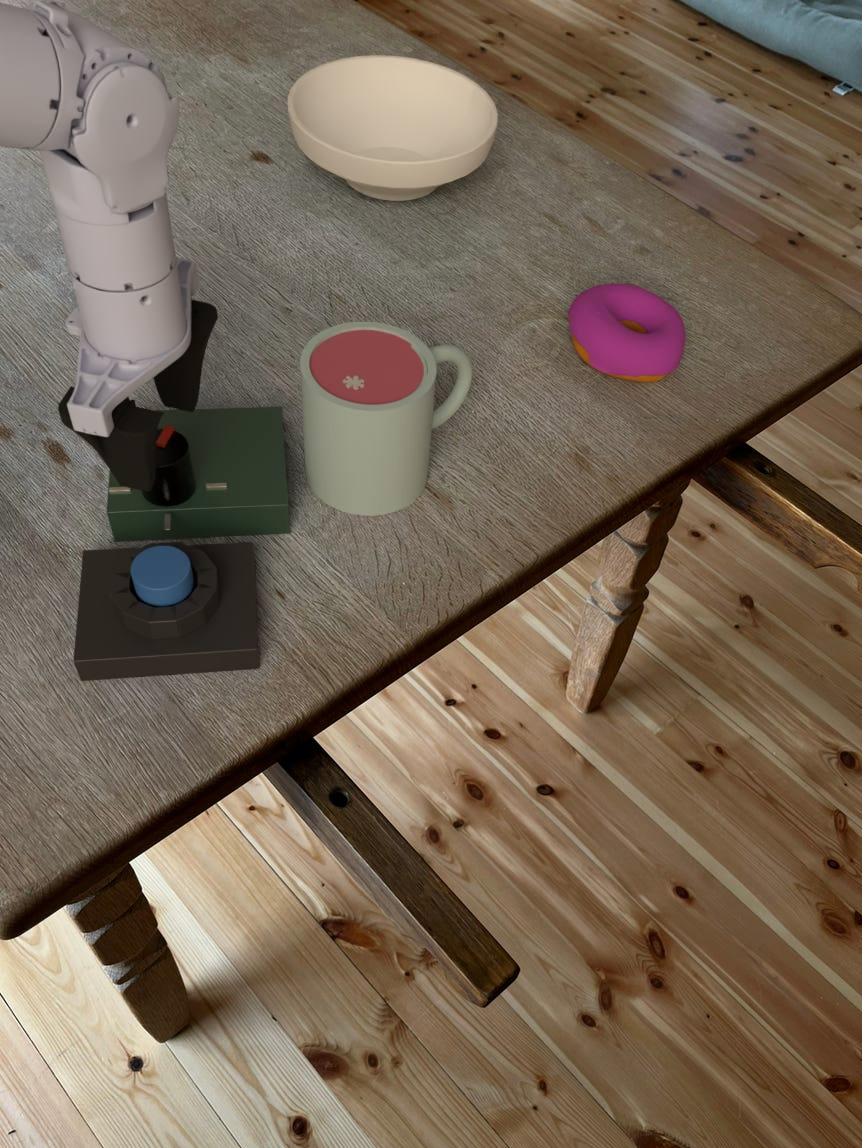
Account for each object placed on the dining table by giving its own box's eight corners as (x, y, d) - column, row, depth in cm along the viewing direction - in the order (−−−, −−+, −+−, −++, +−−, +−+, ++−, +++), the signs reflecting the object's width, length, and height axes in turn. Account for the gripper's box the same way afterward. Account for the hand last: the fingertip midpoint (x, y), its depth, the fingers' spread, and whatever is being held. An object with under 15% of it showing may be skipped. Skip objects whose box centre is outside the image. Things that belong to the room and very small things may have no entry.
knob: (184, 511, 70) (176, 468, 67) (132, 500, 70) (122, 456, 67) (203, 475, 72) (196, 431, 69) (153, 464, 73) (143, 420, 69)
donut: (674, 402, 87) (689, 358, 83) (554, 379, 87) (563, 334, 83) (681, 327, 93) (694, 283, 89) (569, 306, 93) (578, 261, 89)
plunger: (134, 608, 64) (129, 591, 63) (136, 564, 67) (131, 546, 65) (193, 605, 65) (190, 587, 64) (194, 561, 67) (190, 543, 66)
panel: (113, 563, 71) (104, 532, 68) (121, 441, 78) (113, 409, 75) (291, 554, 73) (289, 523, 70) (284, 436, 80) (281, 404, 77)
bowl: (253, 154, 102) (247, 80, 97) (416, 109, 111) (420, 39, 105) (361, 258, 94) (362, 183, 88) (530, 202, 102) (540, 130, 97)
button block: (80, 681, 65) (66, 644, 62) (89, 571, 70) (77, 531, 67) (259, 669, 67) (255, 632, 64) (255, 562, 72) (251, 523, 69)
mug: (347, 533, 75) (347, 428, 67) (282, 454, 79) (274, 346, 71) (499, 465, 80) (516, 361, 72) (431, 394, 84) (440, 288, 76)
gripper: (105, 178, 61) (142, 362, 72) (-11, 325, 53) (51, 509, 64) (221, 201, 61) (240, 383, 72) (123, 353, 53) (162, 533, 64)
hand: (159, 444), depth 68 cm, fingers open, 7 cm apart
